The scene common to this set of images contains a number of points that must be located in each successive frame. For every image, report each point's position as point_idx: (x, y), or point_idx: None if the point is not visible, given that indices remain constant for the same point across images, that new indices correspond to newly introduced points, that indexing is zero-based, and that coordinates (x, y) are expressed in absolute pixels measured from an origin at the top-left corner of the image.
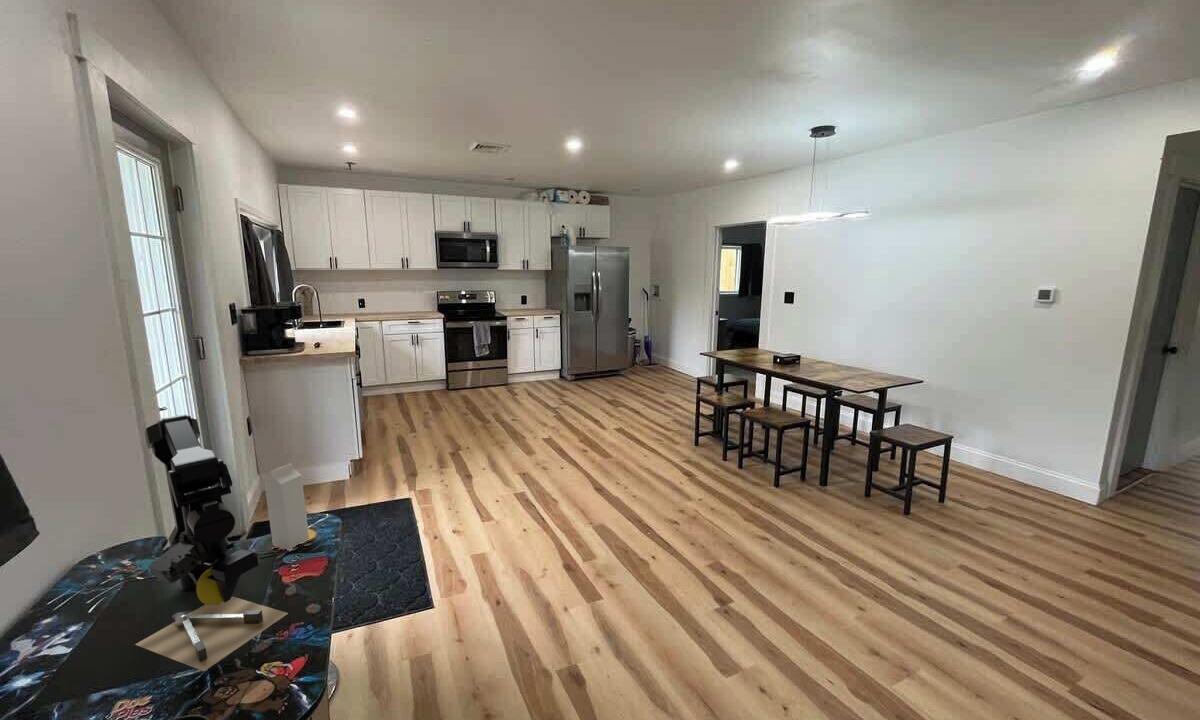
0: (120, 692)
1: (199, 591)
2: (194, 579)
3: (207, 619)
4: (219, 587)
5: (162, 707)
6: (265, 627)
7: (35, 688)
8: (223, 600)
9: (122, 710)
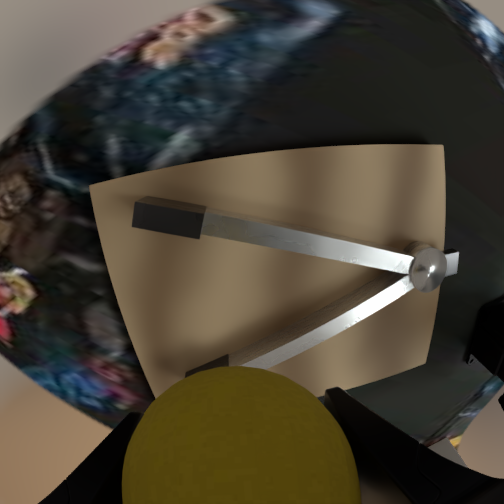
0: (271, 33)
1: (212, 450)
2: (413, 471)
3: (349, 305)
4: (72, 497)
5: (85, 76)
6: (148, 370)
7: (456, 13)
8: (129, 420)
9: (178, 14)
